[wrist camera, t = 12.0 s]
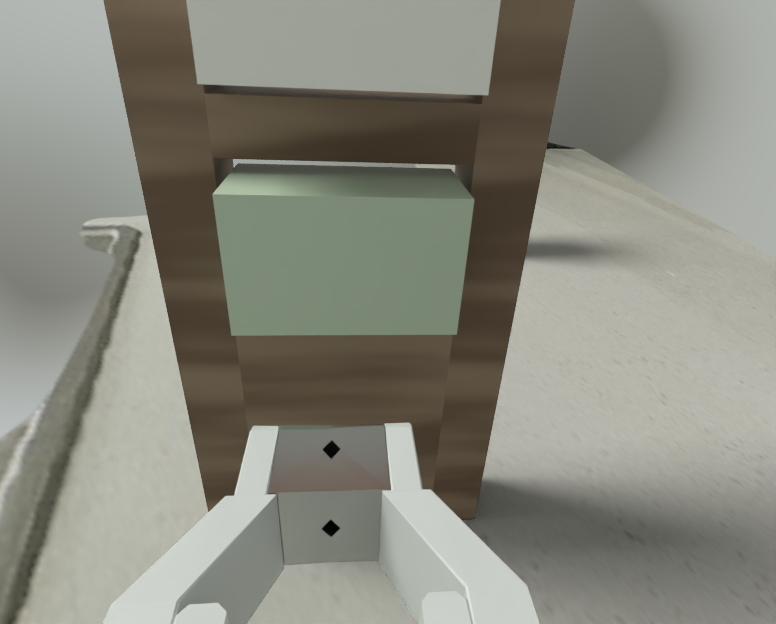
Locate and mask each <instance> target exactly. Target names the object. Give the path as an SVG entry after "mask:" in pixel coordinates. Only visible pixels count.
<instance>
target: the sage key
mask: <svg viewBox="0 0 776 624" xmlns="http://www.w3.org/2000/svg"><path fill="white" fill-rule="evenodd" d="M212 195H213V203H214V210H215V217H216V225H217V232H218V240H219V247H220V254H221V262H222V269H223V277H224V284H225V292H226V299H227V306H228V314H229V321H230V329H231V336H265V335H457V329H458V322H459V314H460V306H461V299H462V291H463V284H464V276H465V268H466V261H467V253H468V246H469V238H470V230H471V223H472V215H473V207H474V200H475V199H474V198H473V197H472V196H471V194H470V193H469V192H468V190H467V189H466V188H465V187H464V185H463V184H462V183H461V181H460V180H459V179H458V178H457V176H456V175H455V174H454V172H453V171H452V170H451V169H434V168H395V167H394V168H393V167H356V166H355V167H354V166H317V165H315V166H314V165H276V164H237V165H236V166H235V168H234V169H233V170H232V171H231V172H230V174H229V175H228V176H227V177H226V178H225V180H224V181H223V182H222V183H221V184H220V186H219V187H218V188H217V189H216V190H215V192H214V193H213V194H212Z"/></svg>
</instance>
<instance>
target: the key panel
mask: <svg viewBox="0 0 776 624" xmlns="http://www.w3.org/2000/svg"><path fill="white" fill-rule="evenodd" d="M574 2H575V0H501V2H500V10H499V17H498V25H497V32H496V40H495V48H494V55H493V63H492V70H491V78H490V86H489V93H488V95H464V94H438V93H412V92H387V91H361V90H335V89H309V88H284V87H258V86H232V85H206V84H197V77H196V69H195V62H194V54H193V47H192V40H191V32H190V25H189V17H188V10H187V3H186V0H104V5H105V10H106V14H107V19H108V24H109V29H110V33H111V39H112V44H113V49H114V54H115V58H116V63H117V68H118V73H119V77H120V83H121V87H122V93H123V97H124V102H125V107H126V112H127V117H128V121H129V127H130V132H131V136H132V141H133V146H134V151H135V156H136V161H137V165H138V171H139V176H140V180H141V185H142V190H143V195H144V200H145V205H146V209H147V215H148V219H149V224H150V229H151V234H152V239H153V244H154V249H155V254H156V258H157V263H158V268H159V273H160V278H161V283H162V288H163V293H164V298H165V302H166V307H167V312H168V317H169V322H170V327H171V332H172V337H173V341H174V346H175V351H176V356H177V361H178V366H179V371H180V376H181V380H182V385H183V390H184V395H185V400H186V405H187V410H188V415H189V420H190V424H191V429H192V434H193V439H194V444H195V449H196V454H197V459H198V463H199V468H200V473H201V478H202V483H203V488H204V493H205V498H206V502H207V507H208V512H209V511H210V510H211V509H212V508H213V507H214V506H216V505H217V504H218V503H219V502H220V501H221V500H222V499H223V498H224V497H225V496H234V494H235V490H236V486H237V482H238V478H239V473H240V469H241V465H242V461H243V457H244V453H245V449H246V445H247V441H248V437H249V433H250V431H251V429H252V427H253V426H281V425H362V424H383V425H384V424H385V423H410V424H411V426H412V429H413V435H414V441H415V447H416V453H417V458H418V464H419V470H420V476H421V481H422V487H423V489H431V490H432V491H433V492H434V493H435V494H436V495H437V496H438V497H439V498H440V499H441V500H442V501H443V502H444V503H445V504H446V505H447V506H448V507H449V508H450V509H451V510H452V511H453V512H454V513H455V514H456V515H457V516H458V517H459V518H460V519H474V518H475V512H476V507H477V502H478V497H479V492H480V487H481V482H482V476H483V471H484V466H485V461H486V456H487V451H488V446H489V440H490V435H491V430H492V425H493V420H494V415H495V409H496V404H497V399H498V394H499V389H500V384H501V379H502V373H503V368H504V363H505V358H506V353H507V348H508V343H509V337H510V332H511V327H512V322H513V317H514V312H515V307H516V301H517V296H518V291H519V286H520V281H521V276H522V270H523V265H524V260H525V255H526V250H527V245H528V240H529V234H530V229H531V224H532V219H533V214H534V209H535V204H536V198H537V193H538V188H539V183H540V178H541V173H542V168H543V162H544V157H545V152H546V147H547V142H548V137H549V132H550V126H551V121H552V116H553V111H554V105H555V100H556V95H557V90H558V85H559V80H560V75H561V70H562V65H563V59H564V54H565V49H566V44H567V38H568V34H569V28H570V23H571V18H572V13H573V8H574ZM233 159H261V160H300V161H337V162H377V163H413V164H451V165H455V175H456V176H457V178H458V179H459V180H460V181H461V183H462V184H463V185H464V187H465V188H466V189H467V190H468V192H469V193H470V194H471V196H472V197H473V198H474V199H475V200H474V207H473V215H472V223H471V230H470V238H469V246H468V253H467V261H466V268H465V276H464V284H463V291H462V299H461V306H460V314H459V322H458V329H457V335H265V336H231V329H230V321H229V314H228V306H227V299H226V292H225V284H224V277H223V269H222V262H221V254H220V247H219V240H218V232H217V225H216V217H215V210H214V203H213V195H212V194H213V193H214V192H215V190H216V189H217V188H218V187H219V186H220V184H221V183H222V182H223V181H224V180H225V178H226V177H227V176H228V175H229V174H230V172H231V171H232V170H233V169H234V167H233Z"/></svg>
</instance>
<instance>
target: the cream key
mask: <svg viewBox="0 0 776 624" xmlns="http://www.w3.org/2000/svg"><path fill="white" fill-rule="evenodd" d="M500 2H501V0H186V3H187V10H188V17H189V25H190V32H191V40H192V47H193V54H194V62H195V69H196V77H197V84H206V85H232V86H258V87H284V88H309V89H335V90H361V91H387V92H412V93H438V94H464V95H488V93H489V86H490V78H491V70H492V63H493V55H494V48H495V40H496V32H497V25H498V17H499V10H500Z"/></svg>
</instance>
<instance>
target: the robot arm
mask: <svg viewBox="0 0 776 624" xmlns="http://www.w3.org/2000/svg"><path fill="white" fill-rule="evenodd" d="M352 561H379V565H380V566H381V568H382V569H383V571H384V572H385V574H386V575H387V577H388V578H389V580H390V582H391V583H392V585H393V586H394V588H395V589H396V591H397V592H398V594H399V595H400V597H401V598H402V600H403V602H404V603H405V605H406V606H407V608H408V609H409V611H410V612H411V614H412V615H413V617H414V618H415V620H416V621H417V623H418V624H540V623H539V620H538V617H537V614H536V611H535V608H534V605H533V602H532V599H531V596H530V593H529V590H528V587H527V585H526V584H525V583H524V582H523V581H522V580H521V579H520V578H519V577H518V576H517V575H516V574H515V573H514V572H513V571H512V570H511V569H510V568H509V567H508V566H507V565H506V564H505V563H504V562H503V561H502V560H501V559H500V558H499V557H498V556H497V555H496V554H495V553H494V552H493V551H492V550H491V549H490V548H489V547H488V546H487V545H486V544H485V543H484V542H483V541H482V540H481V539H480V538H479V537H478V536H477V535H476V534H475V533H474V532H473V531H472V530H471V529H470V528H469V527H468V526H467V525H466V524H465V523H464V522H463V521H462V520H461V519H460V518H459V517H458V516H457V515H456V514H455V513H454V512H453V511H452V510H451V509H450V508H449V507H448V506H447V505H446V504H445V503H444V502H443V501H442V500H441V499H440V498H439V497H438V496H437V495H436V494H435V493H434V492H433V491H432V490H431V489H423V487H422V481H421V476H420V470H419V464H418V458H417V453H416V447H415V441H414V435H413V429H412V426H411V424H410V423H385V424H384V425H383V424H362V425H281V426H253V427H252V429H251V431H250V433H249V437H248V441H247V445H246V449H245V453H244V457H243V461H242V465H241V469H240V473H239V478H238V482H237V486H236V490H235V494H234V496H225V497H224V498H223V499H222V500H221V501H220V502H219V503H218V504H217V505H216V506H214V507H213V508H212V509H211V510H210V511H209V512H208V513H207V514H206V515H205V516H204V517H203V518H202V519H201V520H200V521H199V522H198V523H197V524H196V525H194V526H193V527H192V528H191V529H190V530H189V531H188V532H187V533H186V534H185V535H184V536H183V537H182V538H181V539H180V540H179V541H178V542H177V543H176V544H174V545H173V546H172V547H171V548H170V549H169V550H168V551H167V552H166V553H165V554H164V555H163V556H162V557H161V558H160V559H159V560H158V561H157V562H156V563H154V564H153V565H152V566H151V567H150V568H149V569H148V570H147V571H146V572H145V573H144V574H143V575H142V576H141V577H140V578H139V579H138V580H137V581H136V582H134V583H133V584H132V585H131V586H130V587H129V588H128V589H127V590H126V591H125V592H124V593H123V594H122V595H121V596H120V597H119V598H118V599H117V600H115V601H114V602H113V603H112V604H111V605H110V608H109V610H108V612H107V615H106V617H105V620H104V622H103V624H247V622H248V621H249V619H250V618H251V617H252V615H253V614H254V612H255V611H256V609H257V608H258V606H259V605H260V603H261V602H262V600H263V599H264V597H265V596H266V594H267V593H268V591H269V590H270V588H271V587H272V585H273V584H274V583H275V581H276V580H277V578H278V577H279V575H280V574H281V572H282V571H283V569H284V565H294V564H308V563H322V562H352Z"/></svg>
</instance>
